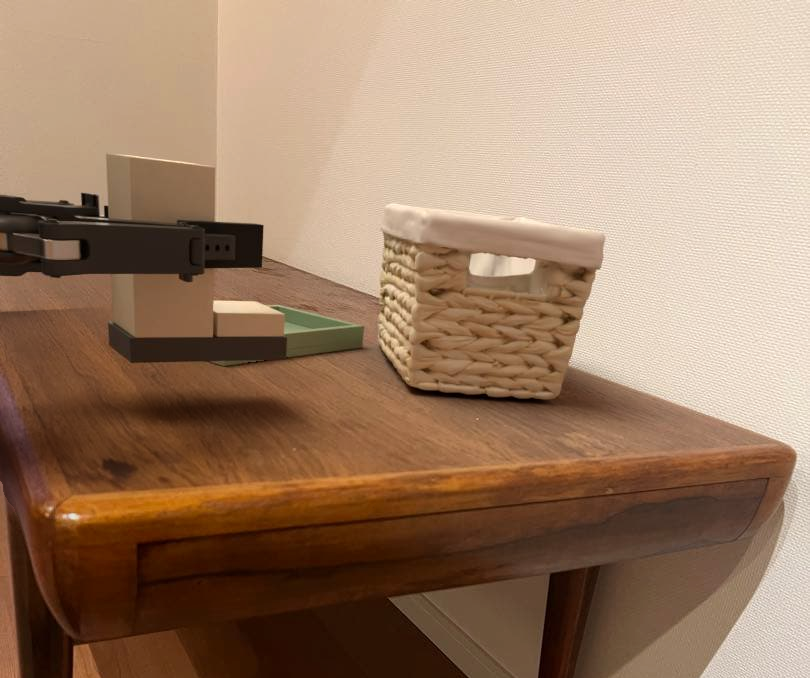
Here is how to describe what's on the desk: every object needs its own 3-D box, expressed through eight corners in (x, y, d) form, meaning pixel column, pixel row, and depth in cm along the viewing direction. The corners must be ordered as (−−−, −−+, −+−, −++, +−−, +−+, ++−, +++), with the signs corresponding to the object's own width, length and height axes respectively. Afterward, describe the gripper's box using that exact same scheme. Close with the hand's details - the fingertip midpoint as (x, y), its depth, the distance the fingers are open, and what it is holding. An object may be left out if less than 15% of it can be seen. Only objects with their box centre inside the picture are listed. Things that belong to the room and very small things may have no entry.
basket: (366, 341, 87) (380, 197, 81) (505, 353, 90) (528, 216, 84) (398, 397, 66) (419, 208, 60) (578, 410, 69) (616, 232, 63)
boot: (130, 363, 50) (124, 155, 45) (108, 345, 53) (100, 152, 48) (286, 359, 56) (296, 176, 51) (257, 344, 60) (263, 171, 55)
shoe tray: (132, 337, 75) (132, 313, 74) (277, 325, 90) (278, 304, 89) (223, 366, 68) (224, 339, 67) (362, 347, 83) (364, 325, 82)
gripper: (-221, 277, 43) (134, 271, 60) (-35, 353, 33) (323, 320, 51) (-253, 124, 40) (132, 165, 57) (-57, 158, 30) (332, 195, 48)
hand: (221, 238), depth 54 cm, fingers closed on boot, 6 cm apart
